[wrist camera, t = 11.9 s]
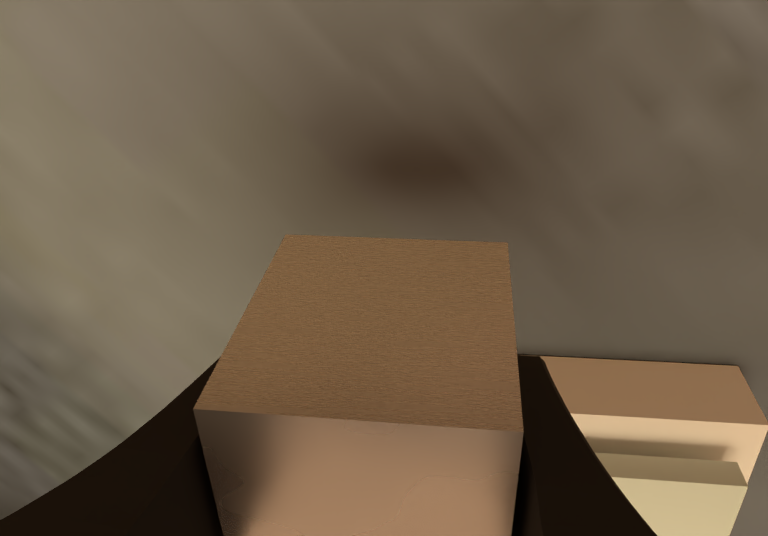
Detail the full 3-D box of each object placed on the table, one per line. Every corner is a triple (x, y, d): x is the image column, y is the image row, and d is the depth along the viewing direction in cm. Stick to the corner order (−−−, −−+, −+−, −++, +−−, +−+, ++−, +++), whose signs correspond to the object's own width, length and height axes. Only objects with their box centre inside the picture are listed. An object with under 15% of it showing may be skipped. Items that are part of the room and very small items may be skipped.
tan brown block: (507, 242, 12) (523, 432, 8) (493, 411, 15) (500, 627, 10) (285, 234, 13) (192, 408, 9) (305, 398, 15) (238, 600, 11)
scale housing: (738, 365, 24) (775, 436, 21) (656, 616, 32) (674, 692, 29) (260, 341, 26) (233, 402, 23) (300, 582, 34) (283, 650, 31)
